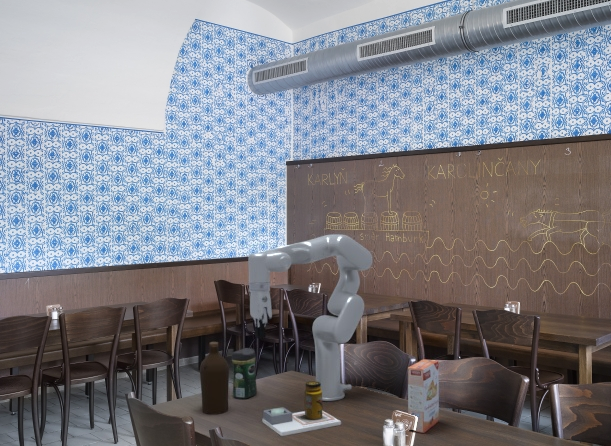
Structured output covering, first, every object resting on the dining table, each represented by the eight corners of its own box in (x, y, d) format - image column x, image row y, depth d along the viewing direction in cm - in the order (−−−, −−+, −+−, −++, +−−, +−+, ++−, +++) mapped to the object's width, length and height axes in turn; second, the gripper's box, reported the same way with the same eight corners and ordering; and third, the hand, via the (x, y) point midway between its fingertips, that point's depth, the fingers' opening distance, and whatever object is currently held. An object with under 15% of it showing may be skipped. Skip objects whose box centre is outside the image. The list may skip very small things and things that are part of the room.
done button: (280, 416, 217) (280, 407, 217) (286, 419, 213) (286, 411, 213) (269, 418, 215) (269, 409, 215) (274, 421, 211) (274, 413, 211)
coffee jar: (243, 391, 254) (242, 346, 254) (259, 393, 250) (258, 347, 250) (229, 397, 246) (228, 350, 246) (246, 400, 242) (244, 352, 242)
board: (319, 411, 226) (318, 400, 226) (340, 424, 211) (340, 412, 211) (262, 422, 216) (262, 410, 216) (281, 436, 201) (281, 423, 201)
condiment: (327, 418, 214) (326, 383, 214) (306, 423, 209) (305, 387, 209) (316, 413, 220) (315, 378, 220) (295, 417, 216) (294, 382, 215)
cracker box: (425, 434, 200) (424, 369, 200) (407, 431, 204) (406, 367, 203) (440, 421, 212) (439, 360, 212) (423, 418, 216) (422, 358, 215)
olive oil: (227, 414, 225) (226, 345, 224) (198, 415, 225) (196, 345, 225) (231, 405, 235) (230, 339, 235) (203, 406, 235) (201, 340, 235)
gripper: (277, 288, 221) (278, 340, 221) (261, 284, 234) (262, 333, 235) (257, 289, 218) (258, 342, 218) (242, 286, 231) (243, 335, 231)
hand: (260, 337), depth 226 cm, fingers closed
